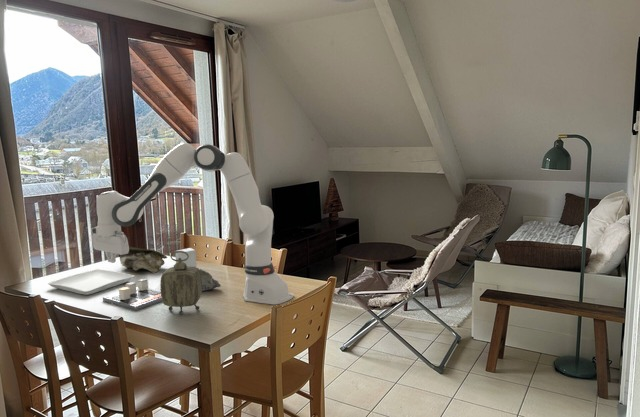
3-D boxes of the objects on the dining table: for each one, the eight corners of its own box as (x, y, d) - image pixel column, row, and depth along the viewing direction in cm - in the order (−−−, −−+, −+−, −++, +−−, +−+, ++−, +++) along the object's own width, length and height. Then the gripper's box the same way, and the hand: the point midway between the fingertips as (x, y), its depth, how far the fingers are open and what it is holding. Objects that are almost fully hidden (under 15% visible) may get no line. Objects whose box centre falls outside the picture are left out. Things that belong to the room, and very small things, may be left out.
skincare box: (192, 276, 242) (190, 247, 239) (197, 279, 237) (196, 249, 235) (176, 279, 236) (174, 250, 234) (181, 282, 232) (179, 252, 230)
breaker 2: (148, 288, 215) (147, 279, 214) (142, 290, 212) (141, 281, 212) (143, 287, 216) (143, 278, 216) (138, 289, 214) (137, 280, 213)
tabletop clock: (203, 308, 196) (200, 248, 192) (198, 316, 187) (195, 253, 183) (167, 309, 195) (163, 248, 192) (160, 317, 186) (156, 254, 183)
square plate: (47, 290, 223) (46, 282, 222) (98, 275, 247) (98, 268, 246) (86, 299, 210) (85, 290, 210) (136, 282, 234) (135, 274, 234)
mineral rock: (222, 289, 220) (221, 268, 218) (204, 296, 211) (203, 274, 209) (202, 285, 227) (201, 264, 225) (184, 291, 218) (183, 270, 216)
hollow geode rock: (122, 275, 263) (104, 260, 252) (134, 255, 270) (117, 240, 259) (161, 279, 250) (143, 264, 239) (172, 259, 257) (156, 242, 246)
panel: (171, 298, 209) (171, 293, 209) (135, 310, 194) (135, 306, 194) (139, 289, 221) (138, 285, 220) (103, 301, 206) (102, 296, 206)
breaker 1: (136, 292, 210) (135, 283, 209) (130, 294, 207) (129, 284, 207) (132, 291, 211) (131, 281, 211) (126, 293, 209) (125, 283, 208)
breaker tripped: (130, 298, 203) (129, 288, 202) (123, 300, 200) (123, 290, 199) (125, 296, 204) (125, 287, 204) (119, 298, 202) (118, 288, 201)
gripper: (131, 231, 199) (133, 263, 201) (102, 226, 210) (104, 257, 212) (118, 233, 194) (120, 267, 196) (88, 228, 205) (90, 260, 207)
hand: (111, 262), depth 204 cm, fingers closed
